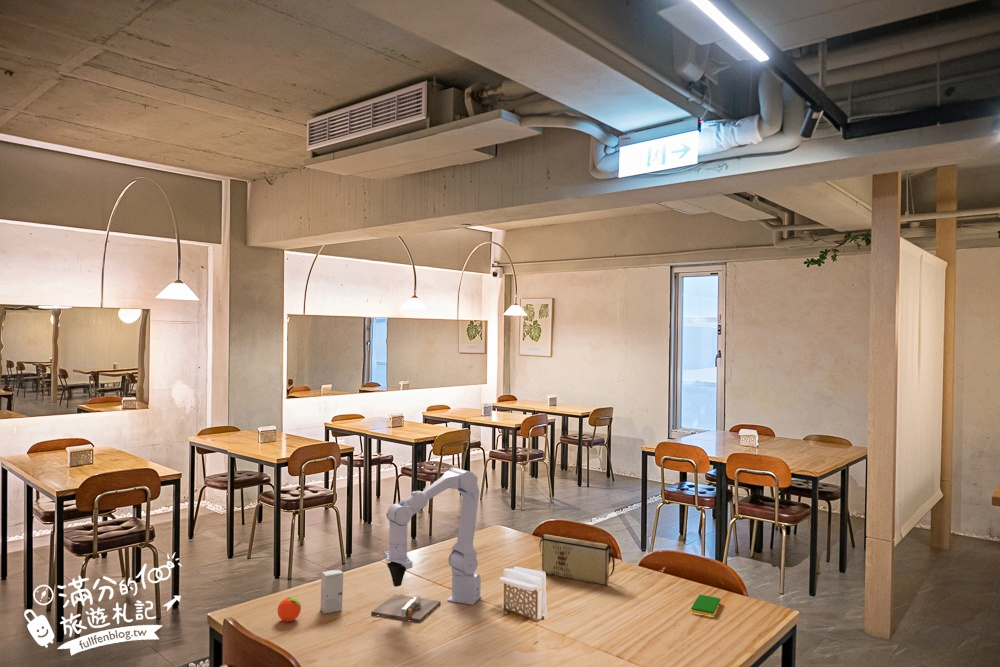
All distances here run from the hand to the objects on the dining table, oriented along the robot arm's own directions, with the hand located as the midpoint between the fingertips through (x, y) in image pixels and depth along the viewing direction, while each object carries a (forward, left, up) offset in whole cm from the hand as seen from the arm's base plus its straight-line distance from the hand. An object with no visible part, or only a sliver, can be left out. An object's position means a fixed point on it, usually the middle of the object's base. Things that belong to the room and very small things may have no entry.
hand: (397, 585), depth 212 cm
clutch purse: (-46, -56, -10) cm, 73 cm away
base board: (-1, -5, -9) cm, 11 cm away
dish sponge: (-93, -41, -10) cm, 103 cm away
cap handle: (-4, -2, -8) cm, 9 cm away
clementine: (+29, +16, -10) cm, 34 cm away
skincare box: (+22, +4, -10) cm, 24 cm away
